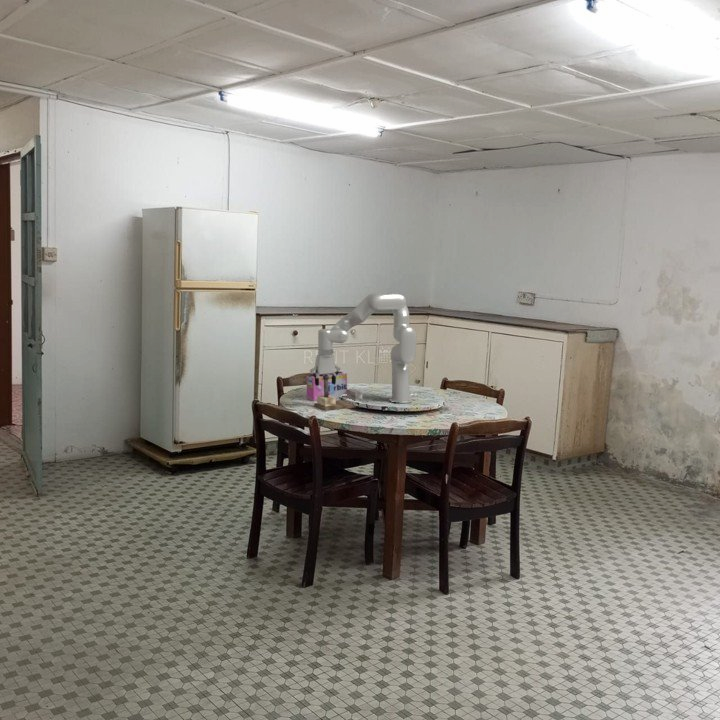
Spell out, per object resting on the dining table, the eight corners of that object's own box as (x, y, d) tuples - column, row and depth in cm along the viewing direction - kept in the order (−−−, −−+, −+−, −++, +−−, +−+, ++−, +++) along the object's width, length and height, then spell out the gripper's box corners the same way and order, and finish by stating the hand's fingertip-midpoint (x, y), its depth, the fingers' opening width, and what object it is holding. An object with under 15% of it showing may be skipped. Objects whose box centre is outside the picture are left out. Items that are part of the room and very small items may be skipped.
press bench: (353, 401, 403) (353, 387, 402) (365, 405, 391) (365, 392, 390) (314, 406, 392) (313, 392, 391) (325, 410, 380) (325, 396, 379)
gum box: (342, 394, 424) (342, 371, 421) (349, 396, 417) (349, 373, 415) (306, 399, 411) (305, 375, 408) (313, 401, 404) (313, 377, 402)
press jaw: (327, 402, 393) (326, 372, 391) (335, 405, 385) (335, 375, 382) (317, 403, 391) (316, 373, 388) (325, 406, 382) (324, 376, 379)
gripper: (336, 350, 391) (336, 382, 393) (307, 352, 383) (307, 384, 385) (343, 352, 384) (343, 384, 387) (313, 354, 376) (313, 387, 378)
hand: (325, 384), depth 386 cm, fingers open, 9 cm apart
